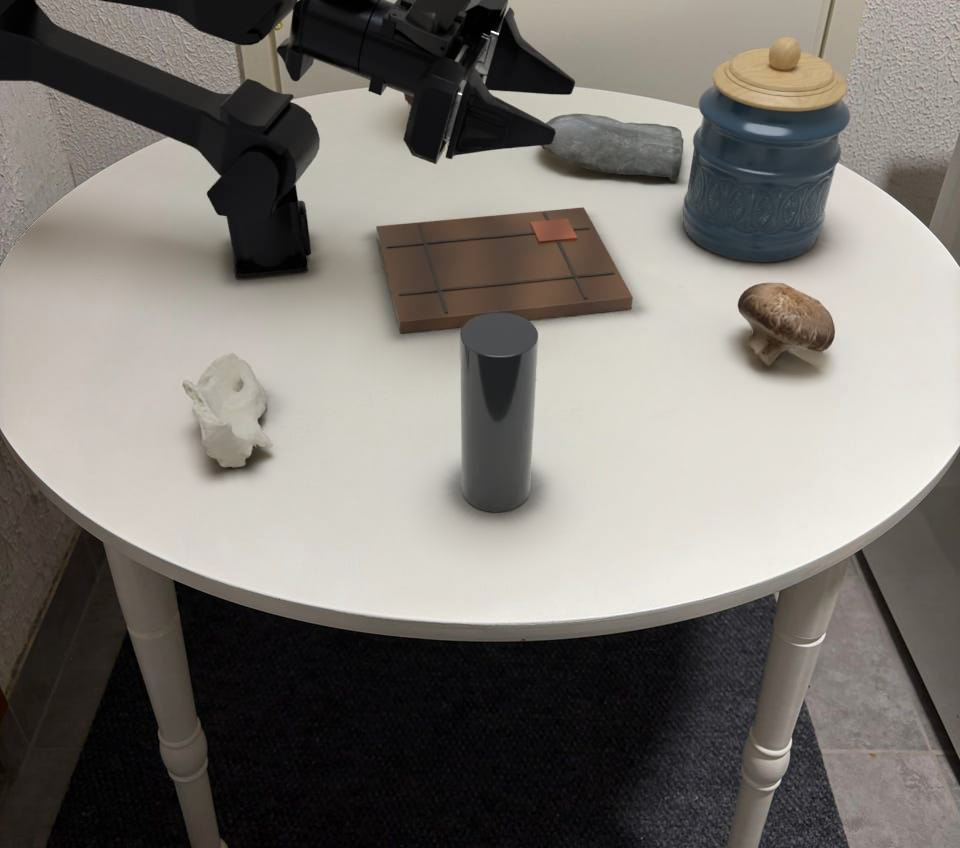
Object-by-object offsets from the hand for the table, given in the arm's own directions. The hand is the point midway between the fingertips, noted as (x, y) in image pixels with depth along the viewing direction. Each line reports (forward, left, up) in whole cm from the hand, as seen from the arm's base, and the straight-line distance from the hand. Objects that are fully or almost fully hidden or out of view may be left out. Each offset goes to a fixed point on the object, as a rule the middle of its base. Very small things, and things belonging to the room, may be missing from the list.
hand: (564, 111), depth 80 cm
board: (-4, +4, -16) cm, 17 cm away
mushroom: (+16, -12, -16) cm, 26 cm away
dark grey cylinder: (-10, -24, -16) cm, 30 cm away
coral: (-28, -14, -16) cm, 35 cm away
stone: (+12, +24, -16) cm, 32 cm away
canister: (+21, +7, -16) cm, 28 cm away
